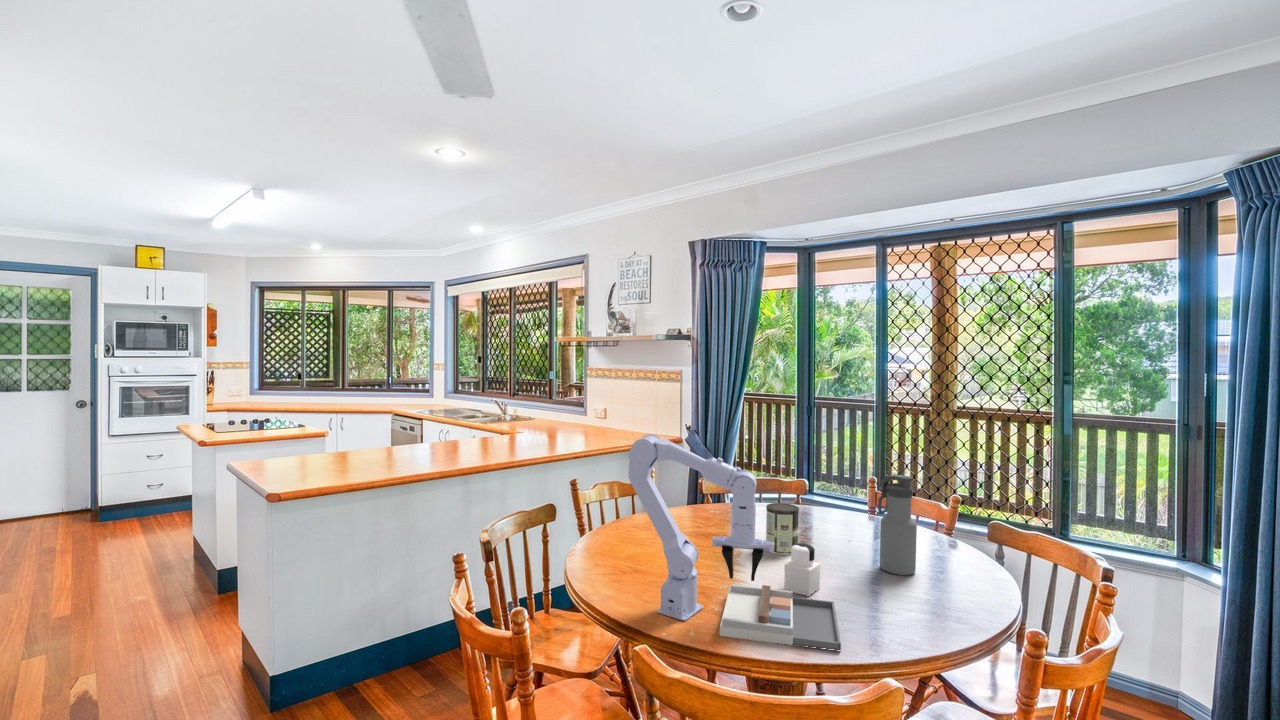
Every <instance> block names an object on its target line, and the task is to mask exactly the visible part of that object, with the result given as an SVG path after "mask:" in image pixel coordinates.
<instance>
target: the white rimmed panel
mask: <svg viewBox="0 0 1280 720" xmlns="http://www.w3.org/2000/svg"><path fill="white" fill-rule="evenodd" d="M761 593H762V587H761V586H760V587H758V586H750V585H741V584H732V583H731V584H730V588H729V589H728V594H727V597H726V600H725V604H724V610H723V612H722V617H721V620H720V625H719V636H720V637H727V638H733V639H740V640H747V639H750V640H749V641H755V640H758V641H757V642H762V641H763V642H764V643H771V644H777V643H780V644H779V645H784V644H789V645H788V646H792V645H793V597H794V596H793V594H794V592H793V591H787V590H785V589H776V588H770V605H769V617H768V623H760V622H759V610H760V601H761ZM772 596H773V597H781V598H790V599H791V626H790V625H782V624H774V623H770V616H771V603H772ZM763 642H762V643H763Z"/></svg>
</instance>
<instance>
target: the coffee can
mask: <svg viewBox="0 0 1280 720" xmlns="http://www.w3.org/2000/svg"><path fill="white" fill-rule="evenodd" d="M799 511H800V507H799V506H797V505H795V504H792V503H785V502H772V503H769V504H766V520H765V521H766V527H765V528H766V530H765V533H766V534H765V535H766V536H765V537H766V539H765V541H768V542H774V551H773V553H772V552H769V551H767V552H768V553H769V554H773V555H776V556H777V555H778V556H791V547H792V546H793V545H794V544H798V543H799V514H800V513H799Z"/></svg>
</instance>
